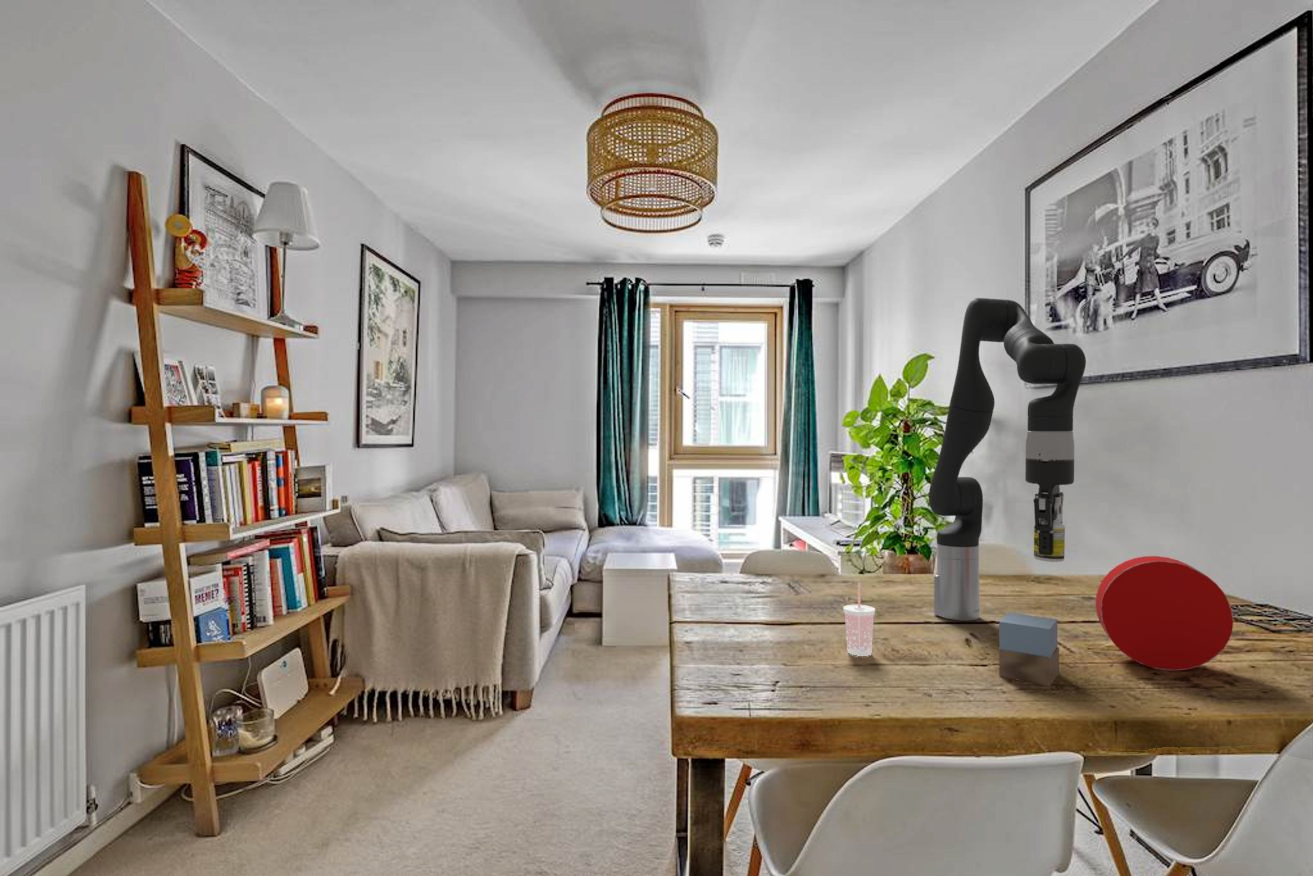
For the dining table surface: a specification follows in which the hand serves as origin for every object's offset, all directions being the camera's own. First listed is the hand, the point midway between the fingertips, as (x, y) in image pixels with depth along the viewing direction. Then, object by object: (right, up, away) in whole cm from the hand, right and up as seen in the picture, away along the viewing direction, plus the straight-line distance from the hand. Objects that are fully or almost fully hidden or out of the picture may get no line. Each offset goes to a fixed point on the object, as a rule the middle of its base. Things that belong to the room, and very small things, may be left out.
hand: (1048, 551), depth 123 cm
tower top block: (-3, -18, +2) cm, 18 cm away
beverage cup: (-29, -23, +15) cm, 40 cm away
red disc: (+25, -22, +6) cm, 34 cm away
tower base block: (-3, -23, +2) cm, 23 cm away
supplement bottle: (0, -2, 0) cm, 2 cm away
